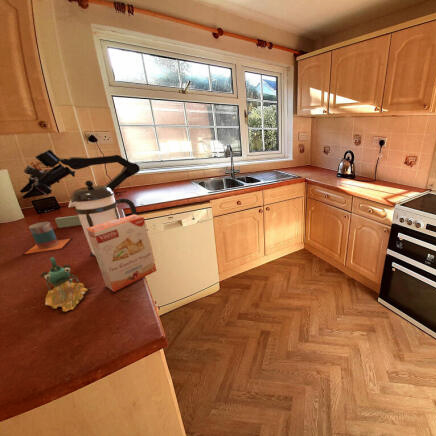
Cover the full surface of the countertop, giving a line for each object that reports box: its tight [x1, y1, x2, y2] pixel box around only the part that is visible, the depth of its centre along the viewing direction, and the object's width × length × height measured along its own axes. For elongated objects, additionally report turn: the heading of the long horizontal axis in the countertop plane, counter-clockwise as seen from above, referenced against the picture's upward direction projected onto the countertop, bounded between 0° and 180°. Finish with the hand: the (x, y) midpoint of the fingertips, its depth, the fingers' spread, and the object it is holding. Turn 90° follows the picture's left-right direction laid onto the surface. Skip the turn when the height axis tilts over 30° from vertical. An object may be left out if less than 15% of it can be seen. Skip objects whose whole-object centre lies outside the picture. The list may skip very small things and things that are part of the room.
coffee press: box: [68, 180, 139, 256], centre depth 95 cm, size 17×16×30 cm
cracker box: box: [86, 214, 157, 293], centre depth 78 cm, size 14×6×21 cm, turn 148°
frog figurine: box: [40, 256, 88, 312], centre depth 72 cm, size 10×18×15 cm, turn 44°
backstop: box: [54, 214, 82, 229], centre depth 126 cm, size 12×2×5 cm, turn 113°
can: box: [28, 221, 58, 249], centre depth 104 cm, size 6×6×10 cm
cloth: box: [24, 238, 71, 255], centre depth 105 cm, size 12×10×1 cm
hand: (21, 194), depth 113 cm, fingers open, 9 cm apart
